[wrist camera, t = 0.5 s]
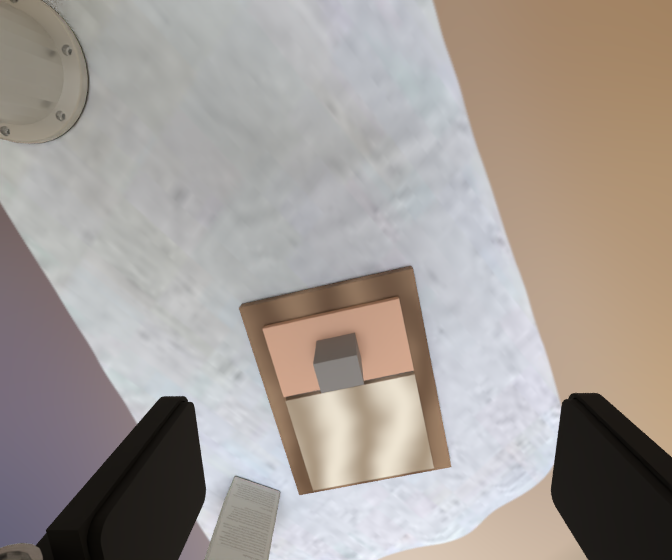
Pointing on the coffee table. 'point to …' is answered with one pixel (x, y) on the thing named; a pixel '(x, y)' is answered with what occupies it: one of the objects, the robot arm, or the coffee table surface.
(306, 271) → the coffee table surface
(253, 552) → the skincare box
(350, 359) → the peach lid with handle
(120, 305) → the coffee table surface
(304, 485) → the board
